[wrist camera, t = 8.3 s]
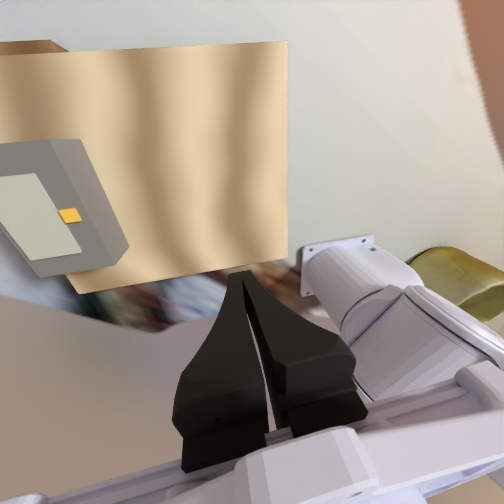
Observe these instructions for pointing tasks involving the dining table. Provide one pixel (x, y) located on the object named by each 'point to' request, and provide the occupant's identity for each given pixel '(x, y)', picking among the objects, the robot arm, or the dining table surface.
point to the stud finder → (57, 208)
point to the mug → (463, 281)
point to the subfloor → (166, 147)
